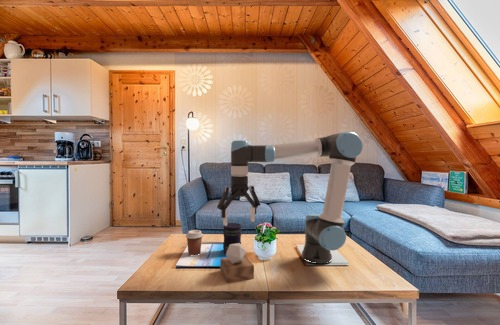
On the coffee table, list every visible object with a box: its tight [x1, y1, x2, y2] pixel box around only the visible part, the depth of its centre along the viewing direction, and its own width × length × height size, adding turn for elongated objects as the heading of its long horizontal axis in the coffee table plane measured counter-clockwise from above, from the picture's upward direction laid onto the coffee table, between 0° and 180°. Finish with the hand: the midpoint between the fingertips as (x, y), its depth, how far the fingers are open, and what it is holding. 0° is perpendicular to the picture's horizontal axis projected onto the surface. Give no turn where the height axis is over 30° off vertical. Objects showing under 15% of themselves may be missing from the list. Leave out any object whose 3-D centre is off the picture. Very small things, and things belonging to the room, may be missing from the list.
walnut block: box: [219, 255, 255, 283], centre depth 119 cm, size 12×12×6 cm
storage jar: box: [222, 222, 242, 255], centre depth 146 cm, size 10×10×15 cm
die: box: [225, 243, 247, 264], centre depth 119 cm, size 8×9×10 cm
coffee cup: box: [185, 229, 204, 256], centre depth 143 cm, size 9×9×12 cm
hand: (239, 223), depth 119 cm, fingers open, 13 cm apart
